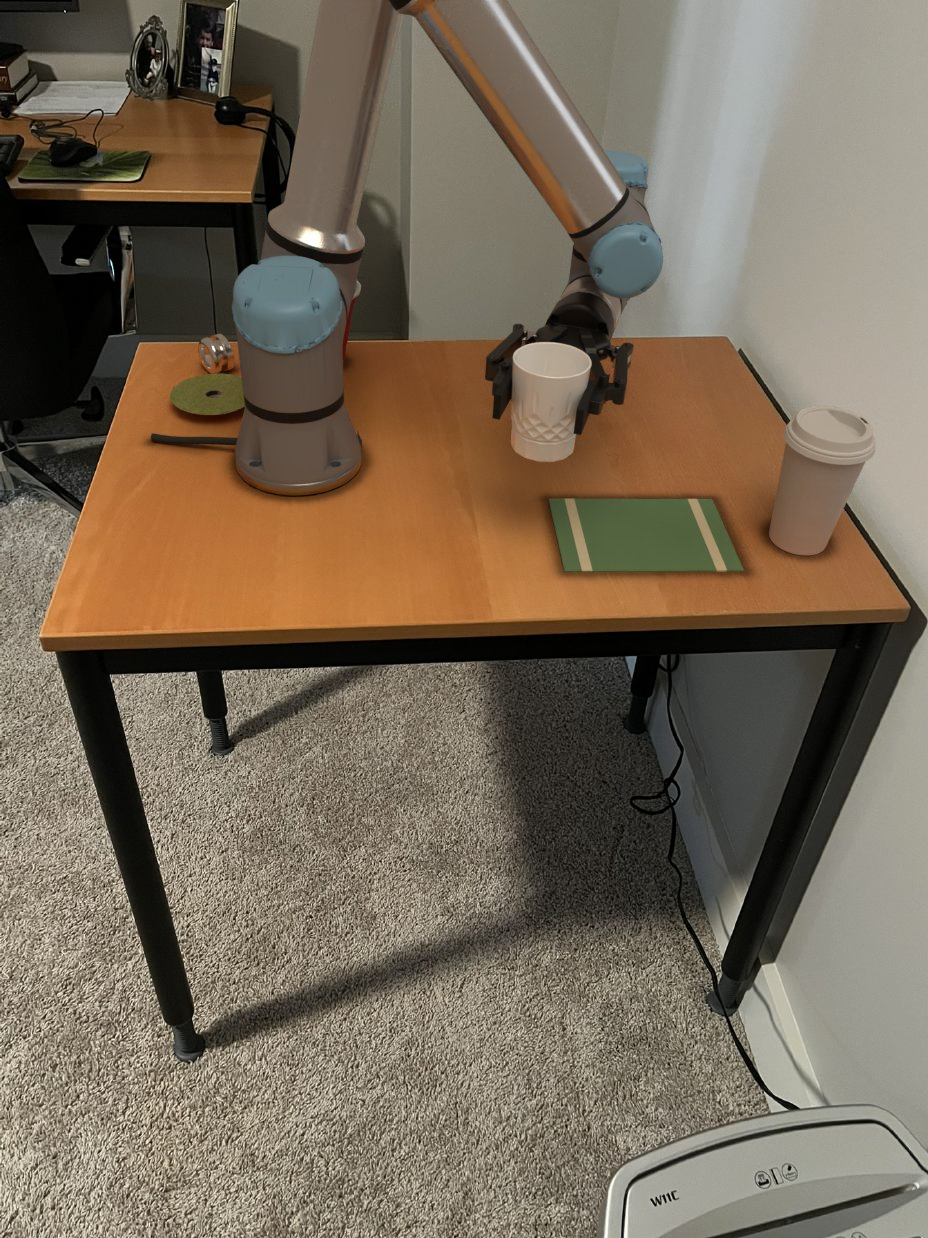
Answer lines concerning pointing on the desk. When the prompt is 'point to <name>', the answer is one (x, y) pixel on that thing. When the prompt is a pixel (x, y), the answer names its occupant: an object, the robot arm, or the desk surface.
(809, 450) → the coffee cup
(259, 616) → the desk surface
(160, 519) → the desk surface
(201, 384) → the green sanding disc
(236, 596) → the desk surface
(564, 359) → the white cup
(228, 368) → the metal grooved wheel
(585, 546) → the cloth
